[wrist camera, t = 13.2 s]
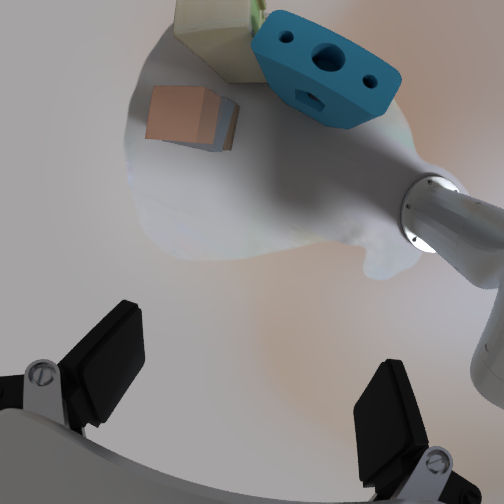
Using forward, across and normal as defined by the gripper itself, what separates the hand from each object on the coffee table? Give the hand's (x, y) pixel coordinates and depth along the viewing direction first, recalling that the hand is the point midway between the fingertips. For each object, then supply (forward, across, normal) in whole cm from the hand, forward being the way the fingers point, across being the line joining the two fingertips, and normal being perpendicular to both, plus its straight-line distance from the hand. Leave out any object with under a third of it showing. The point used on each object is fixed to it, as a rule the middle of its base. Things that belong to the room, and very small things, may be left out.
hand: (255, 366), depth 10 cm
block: (+34, -1, -16) cm, 38 cm away
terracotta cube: (+25, +13, -10) cm, 30 cm away
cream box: (+34, +9, -21) cm, 41 cm away
